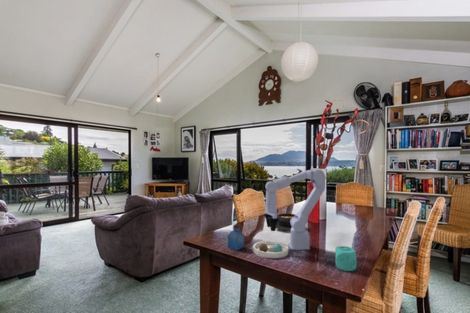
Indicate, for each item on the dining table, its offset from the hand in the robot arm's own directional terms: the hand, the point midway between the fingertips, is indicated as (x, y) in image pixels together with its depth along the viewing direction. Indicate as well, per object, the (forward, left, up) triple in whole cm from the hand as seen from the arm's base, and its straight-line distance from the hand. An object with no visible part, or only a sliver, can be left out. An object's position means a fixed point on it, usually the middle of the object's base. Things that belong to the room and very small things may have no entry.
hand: (271, 228), depth 133 cm
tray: (+2, +6, -10) cm, 12 cm away
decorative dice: (-26, +28, -10) cm, 40 cm away
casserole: (-22, -36, -10) cm, 43 cm away
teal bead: (-1, +11, -9) cm, 14 cm away
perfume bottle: (+19, -2, -10) cm, 22 cm away
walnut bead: (+6, +10, -9) cm, 14 cm away
